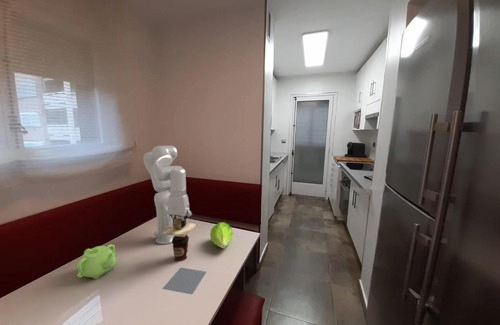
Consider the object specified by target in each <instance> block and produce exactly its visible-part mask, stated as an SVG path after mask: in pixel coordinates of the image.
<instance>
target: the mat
mask: <svg viewBox="0 0 500 325" xmlns="http://www.w3.org/2000/svg"><path fill="white" fill-rule="evenodd" d="M206 274H207V271H203V270H199V269H191V268H185V267H180V268H179V269H178V270H177V271H176V272H175V273H174V274H173V276H172V277H171V278H170V279H169V281H168V282H166V284H165V285H164V286H163V287H162V289H163V290H168V291H172V292H178V293H181V294H182V293H184V294H188V295H193V294H194V293H195V291H196V289H197V288H198V287H199V284H200V283H201V281H202V280H203V278H205V275H206Z"/></svg>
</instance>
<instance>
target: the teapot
mask: <svg viewBox="0 0 500 325" xmlns="http://www.w3.org/2000/svg"><path fill="white" fill-rule="evenodd" d="M115 248H116V246H115V245H114V244H107V246H105V245H99V246H97V245H96V246H94V247H92V248H86V249H85V250H84V251H83V254H82V256H81V259H80V260H79V261H78V262H77V265H76V267H77V269H78V273H77V274H76V275H77V277H78V278H83V277H85V278H93V280H98V279H99V278H101V276H102V275H104V274H106V273H107V272H110V271H112V270H113V269H114V267H115V265H116V263H117V257H116V256H117V253H116V252H115V251H116V249H115Z"/></svg>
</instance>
